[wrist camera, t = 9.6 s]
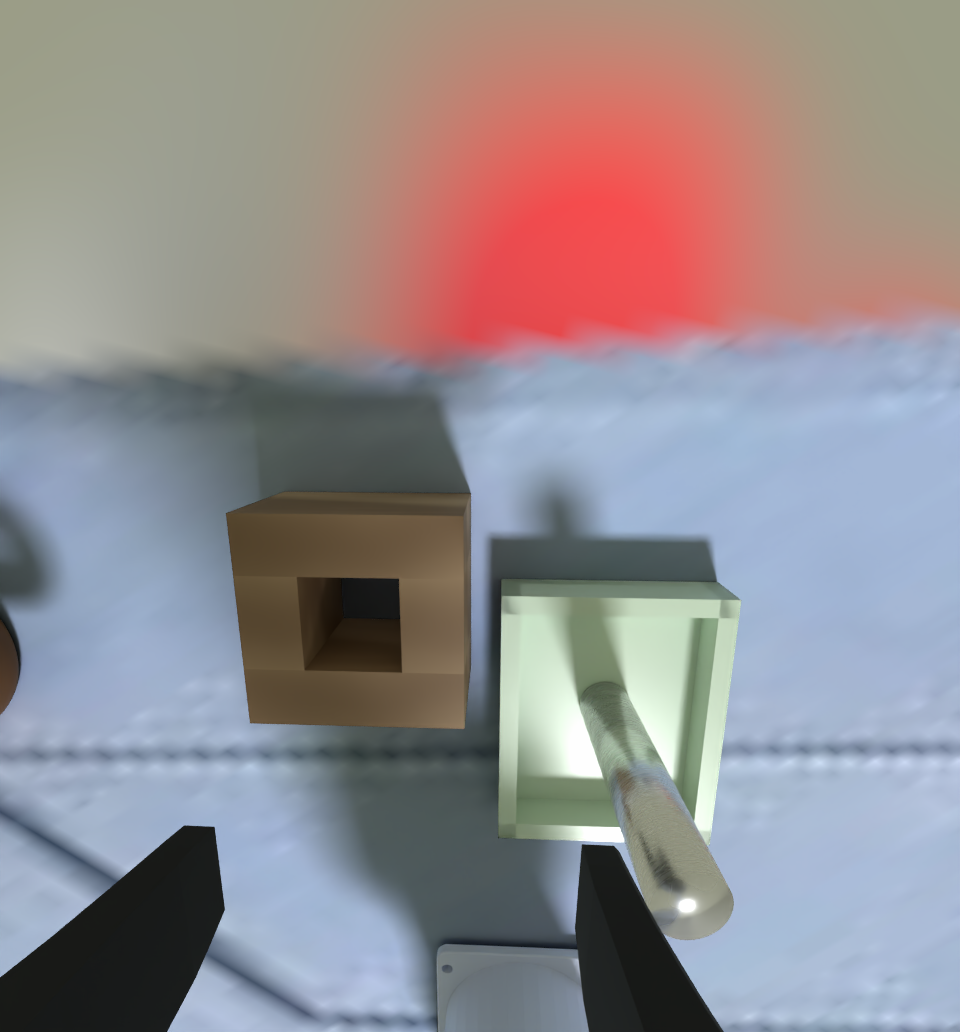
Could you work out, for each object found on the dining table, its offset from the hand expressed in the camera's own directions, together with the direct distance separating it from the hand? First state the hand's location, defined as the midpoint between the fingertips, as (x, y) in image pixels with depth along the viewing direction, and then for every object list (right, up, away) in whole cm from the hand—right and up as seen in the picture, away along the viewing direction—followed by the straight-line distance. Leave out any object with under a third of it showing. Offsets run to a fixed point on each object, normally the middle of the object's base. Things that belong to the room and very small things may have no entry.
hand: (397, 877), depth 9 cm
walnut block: (-2, +4, +10) cm, 11 cm away
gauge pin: (+7, -1, +10) cm, 12 cm away
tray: (+7, -1, +10) cm, 12 cm away
